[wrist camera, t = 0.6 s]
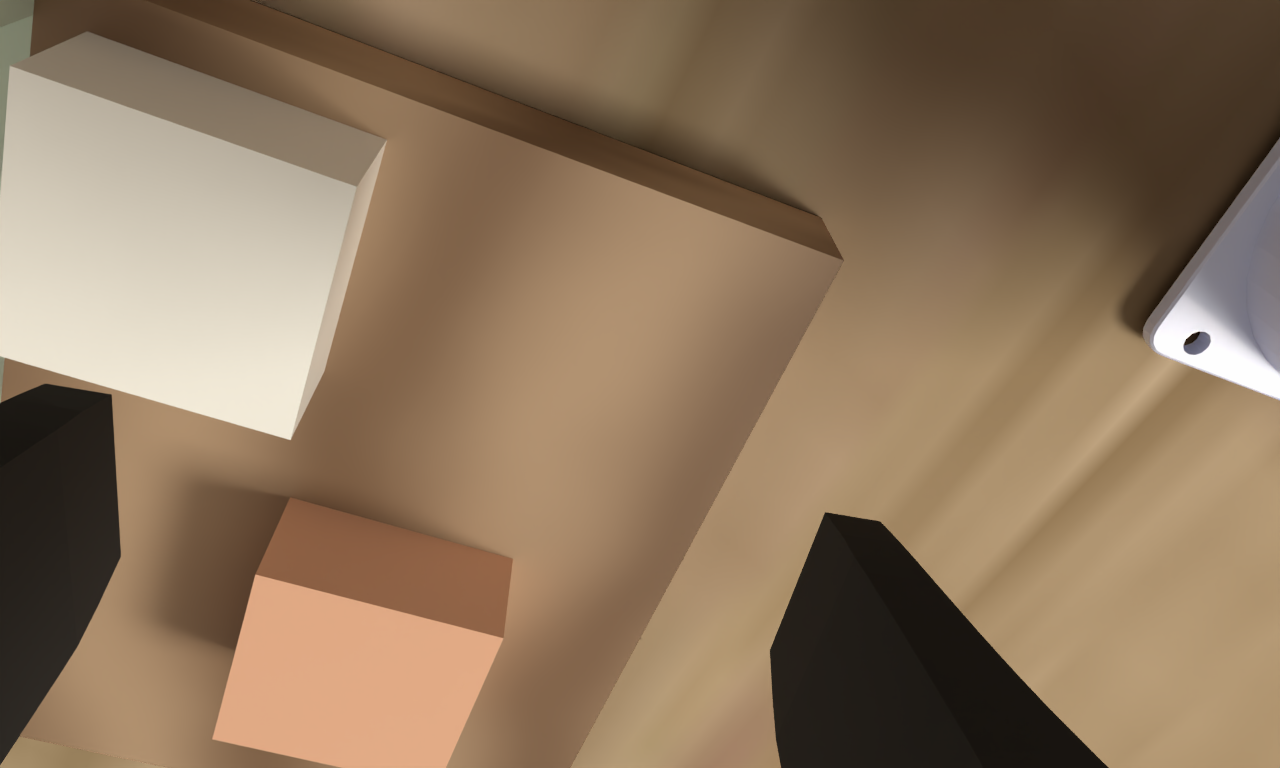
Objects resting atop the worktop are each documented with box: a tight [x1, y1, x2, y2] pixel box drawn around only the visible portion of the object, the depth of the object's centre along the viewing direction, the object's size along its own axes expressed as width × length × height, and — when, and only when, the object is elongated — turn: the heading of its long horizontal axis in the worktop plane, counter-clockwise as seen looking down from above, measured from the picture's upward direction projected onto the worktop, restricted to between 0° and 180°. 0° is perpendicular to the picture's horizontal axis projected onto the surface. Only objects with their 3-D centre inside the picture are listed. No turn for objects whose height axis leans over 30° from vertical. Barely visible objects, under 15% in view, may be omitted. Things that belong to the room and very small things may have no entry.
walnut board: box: [1, 0, 844, 768], centre depth 20 cm, size 13×17×2 cm
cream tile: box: [0, 31, 387, 440], centre depth 15 cm, size 4×4×2 cm
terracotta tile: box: [212, 497, 513, 768], centre depth 19 cm, size 4×4×2 cm
